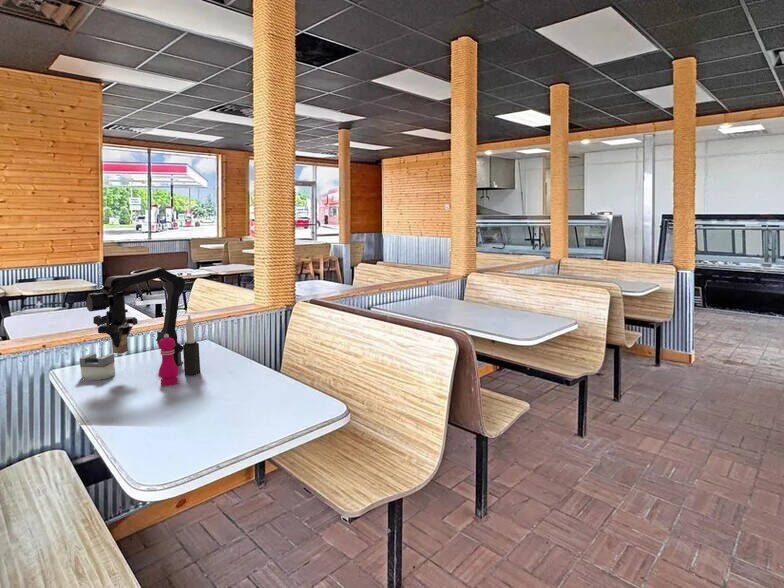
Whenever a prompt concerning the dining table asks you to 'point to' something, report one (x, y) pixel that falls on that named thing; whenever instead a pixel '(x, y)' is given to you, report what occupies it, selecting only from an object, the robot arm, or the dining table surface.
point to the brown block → (121, 345)
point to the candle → (191, 351)
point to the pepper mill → (168, 362)
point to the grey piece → (98, 372)
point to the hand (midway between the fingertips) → (120, 345)
